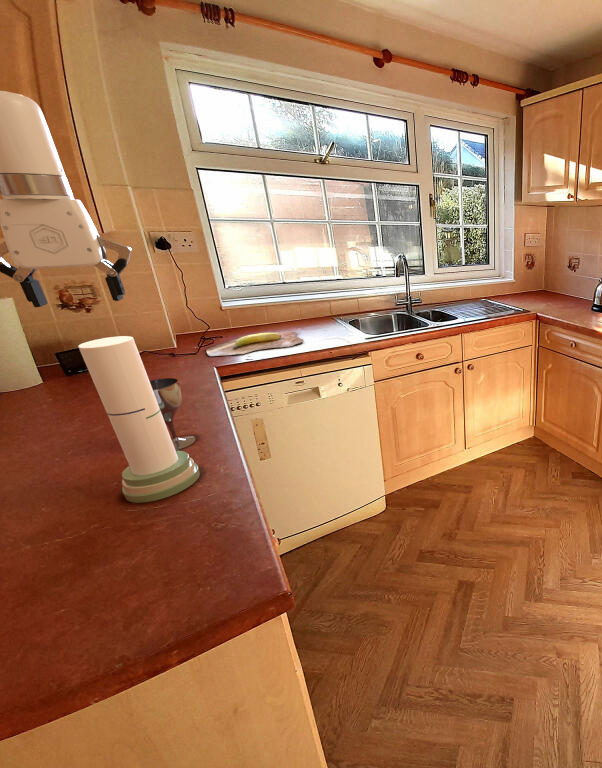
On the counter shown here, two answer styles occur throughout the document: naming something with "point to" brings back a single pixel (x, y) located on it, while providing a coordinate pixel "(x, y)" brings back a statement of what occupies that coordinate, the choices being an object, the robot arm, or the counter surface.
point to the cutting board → (255, 343)
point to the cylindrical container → (130, 403)
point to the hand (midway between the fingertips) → (81, 302)
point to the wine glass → (170, 407)
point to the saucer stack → (160, 481)
